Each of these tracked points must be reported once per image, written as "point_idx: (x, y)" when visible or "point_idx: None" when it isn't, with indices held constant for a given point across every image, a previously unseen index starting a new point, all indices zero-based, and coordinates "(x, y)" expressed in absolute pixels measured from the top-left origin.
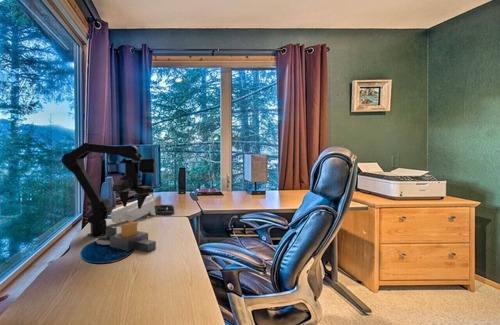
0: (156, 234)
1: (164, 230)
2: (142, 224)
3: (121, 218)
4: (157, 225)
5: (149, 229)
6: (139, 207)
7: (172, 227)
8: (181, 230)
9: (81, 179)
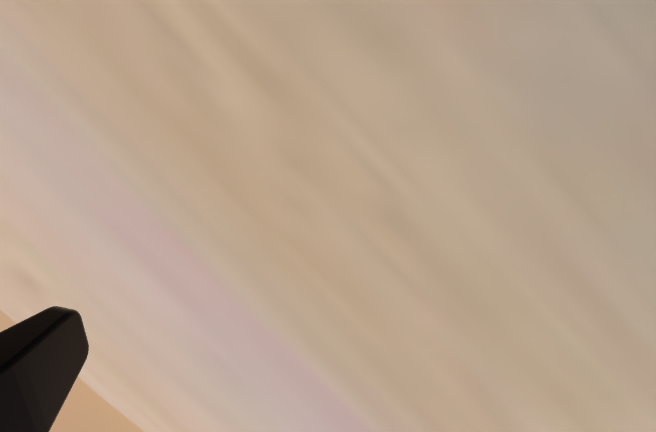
0: (147, 164)
1: (192, 295)
2: (571, 425)
3: None
4: (383, 413)
5: (356, 293)
6: (30, 336)
7: (206, 381)
8: None
9: None
